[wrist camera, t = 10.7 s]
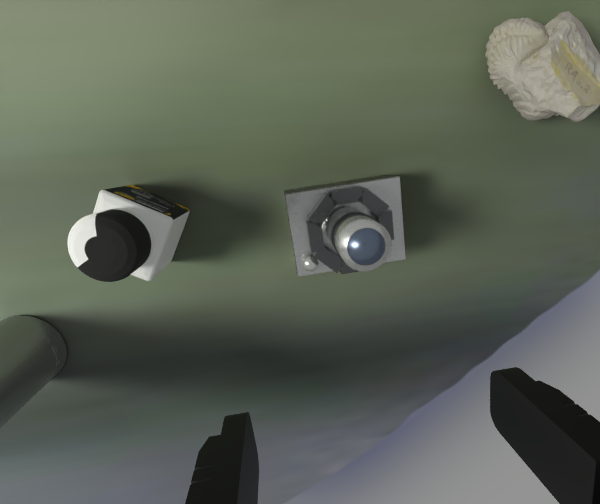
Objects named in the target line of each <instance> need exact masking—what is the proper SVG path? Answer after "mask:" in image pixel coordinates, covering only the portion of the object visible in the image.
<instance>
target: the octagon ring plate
mask: <svg viewBox="0 0 600 504" xmlns="http://www.w3.org/2000/svg"><path fill="white" fill-rule="evenodd" d="M284 193H285V200H286V206H287V212H288V218H289V225H290V231H291V237H292V243H293V249H294V256H295V262H296V268H297V273H298V276H304V275H310V274H317V273H323V272H329V271H335V272H336V273H337V272H338V271H339V270H340V272H341V274H345V273H352V272H358V270H355V269H352V268H351V267H349V266H348V265H347V264H346V263H345V262H344V260H343V259H342V258H341V257H340V256H339V254H338V253H337V251H336V250H335V248H334V246H333V244H332V242H331V240H330V239H329V237H328V234H327V224H328V221H329V219H330V217H331V216H332V215H333V214H334V213H335V212H336V211H337V210H339V209H342V208H354V209H357V210H359V211H360V212H362V213H365V214H367V215H369V216H370V217H372V218H373V219H375V220H376V221H377V222H378V223H379V224H381V225H382V226H384V227H385V228H386V230H387V231H388V233H389V235H390V237H391V242H392V246H391V252H390V254H389V256H388V258H387V260H386V261H385V262H391V261H397V260H403V259H405V245H404V231H403V216H402V202H401V187H400V177H398V176H395V175H380V176H374V177H368V178H361V179H355V180H349V181H342V182H336V183H330V184H323V185H317V186H310V187H304V188H298V189H291V190H285V191H284Z"/></svg>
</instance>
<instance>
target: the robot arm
mask: <svg viewBox="0 0 600 504" xmlns="http://www.w3.org/2000/svg"><path fill="white" fill-rule="evenodd" d="M66 358H67V349H66V345H65V342H64V340H63V338H62V336H61V335H60V334H59V332H58V331H57V330H56V329H55V328H54V327H52V326H51V325H50V324H48V323H47V322H45V321H43V320H41V319H38V318H35V317H30V316H14V317H9V318H7V319H4V320H2V321H1V322H0V428H1V427H2V426H3V425H4V424H5V423H6V422H7V421H8V420H9V419H10V418H11V417H12V416H13V415H14V414H15V413H17V412H18V411H19V410H20V409H21V408H22V407H23V406H24V405H25V404H26V403H27V402H28V401H29V400H30V399H31V398H32V397H33V396H34V395H35V394H36V393H37V392H38V391H40V390H41V389H42V388H43V387H44V386H45V385H46V384H47V383H48V382H49V381H50V380H51V379H52V378H53V377H54V376H55V375H56V374H57V373H58V372H59V371H60V370H61V369H62V367H63V366H64V364H65V362H66ZM490 381H491V382H490V412H491V417H492V420H493V422H494V424H495V427H496V428H497V430H498V431H499V432H500V434H501V435H502V436H503V437H504V438H505V440H506V441H507V442H508V443H509V444H510V446H511V447H512V448H513V449H514V450H515V451H516V453H517V454H518V455H519V456H520V457H521V458H522V460H523V461H524V462H525V463H526V464H527V466H528V467H529V468H530V469H531V470H532V471H533V473H534V474H535V475H536V476H537V477H538V478H539V480H540V481H541V482H542V483H543V484H544V486H545V487H546V488H547V489H548V490H549V491H550V493H551V494H552V495H553V496H554V497H555V498H556V500H557V501H558V502H559V503H560V504H600V422H599V421H598V420H596V419H595V418H594V417H593V416H591V415H588V413H587V412H586V411H585V410H584V409H583V408H581V407H580V406H579V405H575V403H574V401H572V400H571V399H570V398H569V397H567V396H566V395H565V394H563V393H562V392H561V391H560V390H558V389H556V388H554V387H552V386H550V385H547V384H545V383H543V382H541V381H534V380H533V379H532V378H531V377H529V376H528V375H527V374H526V373H525V372H524V371H522V370H521V369H519V368H516V367H515V368H509V369H503V370H497V371H493V372H492V373H491V378H490ZM258 481H259V461H258V453H257V447H256V442H255V438H254V433H253V428H252V423H251V418H250V415H249V413H248V412H246V413H240V414H235V415H229V416H225V418H224V422H223V427H222V432H221V435H217V436H211V437H209V438H208V439H207V441H206V442H205V444H204V445H203V447H202V448H201V449H200V451H199V453H198V457H197V461H196V465H195V471H194V473H193V476H192V480H191V485H190V488H189V492H188V495H187V499H186V503H185V504H257V502H258Z"/></svg>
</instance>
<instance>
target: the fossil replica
mask: <svg viewBox="0 0 600 504" xmlns="http://www.w3.org/2000/svg"><path fill="white" fill-rule="evenodd" d="M486 48H487V51H486V54H485V56H486V57H487V65H488V66H489V68H488V72H489V73H490V79H491V80H493V84H494V85H497V86H498V90H500V89H502V91H503V92H504V95H508V96H509V98H510V100H511V101H513V105H514V107H515V108H516V109H517V111H519V112H520V114H521V116H522V117H523V118H525V119H527V120H539V119H544V118H549V117H551V116H553V115H556V116H559V115H561V116H564V117H567V118H569V119H571V120H572V121H575V122H578V121H581V120H582V119H584V118H586V117H587V116H589V115H590V114H591V113H592V112H593V111H595V110H596V109H597V108H598V107H599V105H600V54H599V52H598V51H597V49H596V48H595V46H594V44H593V42H592V40H591V37H590V35H589V33H588V32H587V30H586V29H585V28H584V26H583V24H582V23H581V22H580V21H579V20H578V19H577V18H575V17H574V16H573V15H572V14H571V13H570V12H568V11H567V12H561V13H559V14H558V15H557V17H555V18H554V19H553V20H551V21H550V22H549V23H548V24H546V25H543V24H541V23H538V22H535V21H533V20H531V19H529V18H523V17H522V18H520V19H519V18H518V19H514V18H511V19H508V21H505V22H503V23H502V24H501V25H499V26H496V27H495V29H494V31H493V33H492V34H491V35H490V37H489V41H488V43H487V45H486Z"/></svg>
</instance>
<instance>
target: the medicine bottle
mask: <svg viewBox="0 0 600 504" xmlns="http://www.w3.org/2000/svg"><path fill="white" fill-rule="evenodd" d="M189 213H190V210H189V209H188V208H186V207H184V206H181V205H179V204H177V203H174V202H172V201H169V200H167V199H165V198H162V197H160V196H157V195H155V194H153V193H150V192H148V191H146V190H143V189H141V188H138V187H136V186H134V185H128V186H122V187H117V188H111V189H105V190H101V191H100V192H99V196H98V199H97V202H96V205H95V209H94V212H93V214H91V215H88V216H85V217H83V218H81V219H80V220H78V221H77V222H76V223H75V224H74V226H73V227H72V229H71V230H70V233H69V236H68V251H69V254H70V257H71V259H72V261H73V262H74V264H75V265H76V266H77V268H78V269H80V270H81V271H82V272H83V273H84V274H86V275H87V276H89V277H91V278H93V279H96V280H99V281H105V282H112V281H118V280H121V279H124V278H126V277H128V276H129V275H133V276H136V277H138V278H141V279H144V280H146V281H151V280H152V279H153V278H154V277H155V276H156V275H157V274H158V273H160V272H161V271H162V270H163V269H164V268H165V267H166V266H167V265H168V264H169V263H170V262H171V261H172V258H173V256H174V253H175V250H176V248H177V245H178V242H179V240H180V237H181V234H182V231H183V229H184V226H185V223H186V221H187V218H188V215H189Z"/></svg>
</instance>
